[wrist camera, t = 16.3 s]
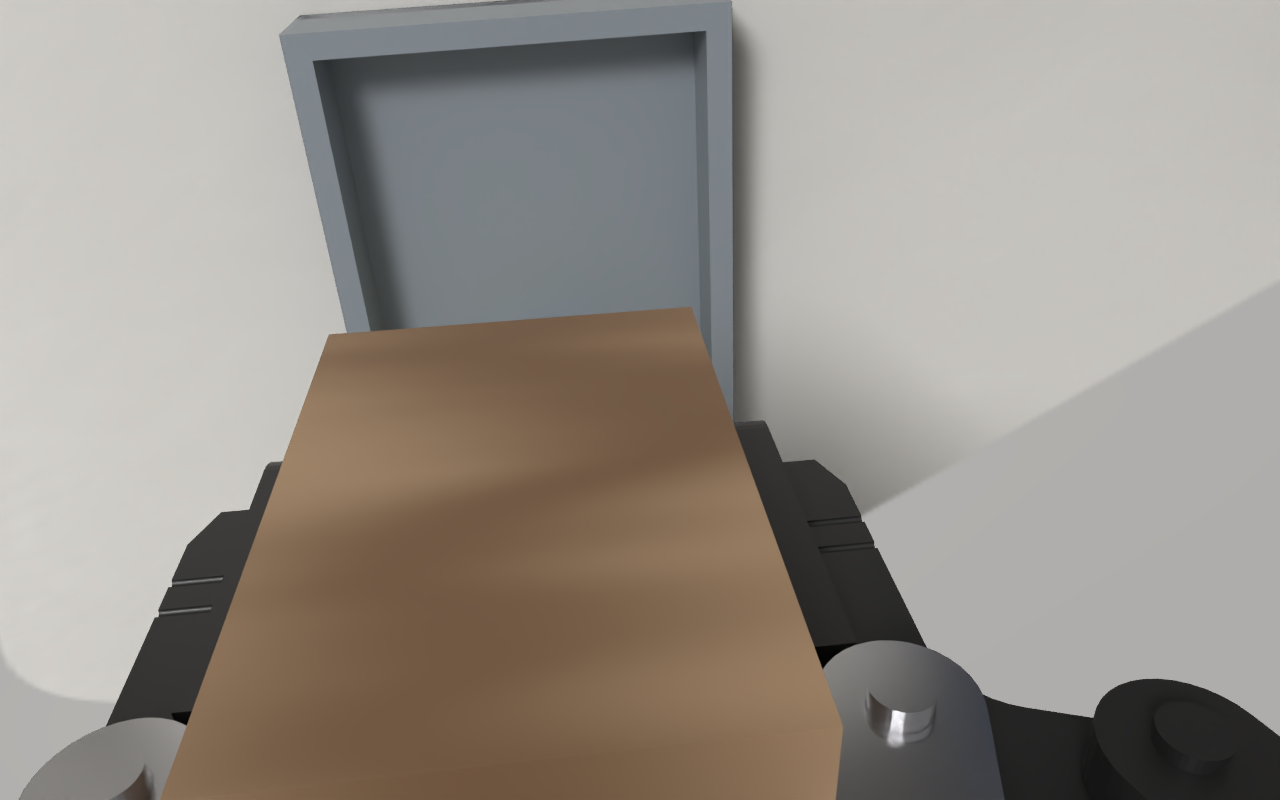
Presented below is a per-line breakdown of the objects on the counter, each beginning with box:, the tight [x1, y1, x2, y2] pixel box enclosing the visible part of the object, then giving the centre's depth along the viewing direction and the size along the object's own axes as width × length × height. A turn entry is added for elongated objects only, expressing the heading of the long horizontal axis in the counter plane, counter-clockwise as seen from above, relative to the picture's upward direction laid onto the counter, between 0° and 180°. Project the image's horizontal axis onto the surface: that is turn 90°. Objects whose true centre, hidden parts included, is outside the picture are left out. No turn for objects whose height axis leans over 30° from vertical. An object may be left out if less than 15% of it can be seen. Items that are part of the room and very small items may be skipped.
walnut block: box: [160, 307, 843, 800], centre depth 9 cm, size 4×4×6 cm
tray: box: [279, 0, 733, 421], centre depth 27 cm, size 10×15×2 cm
